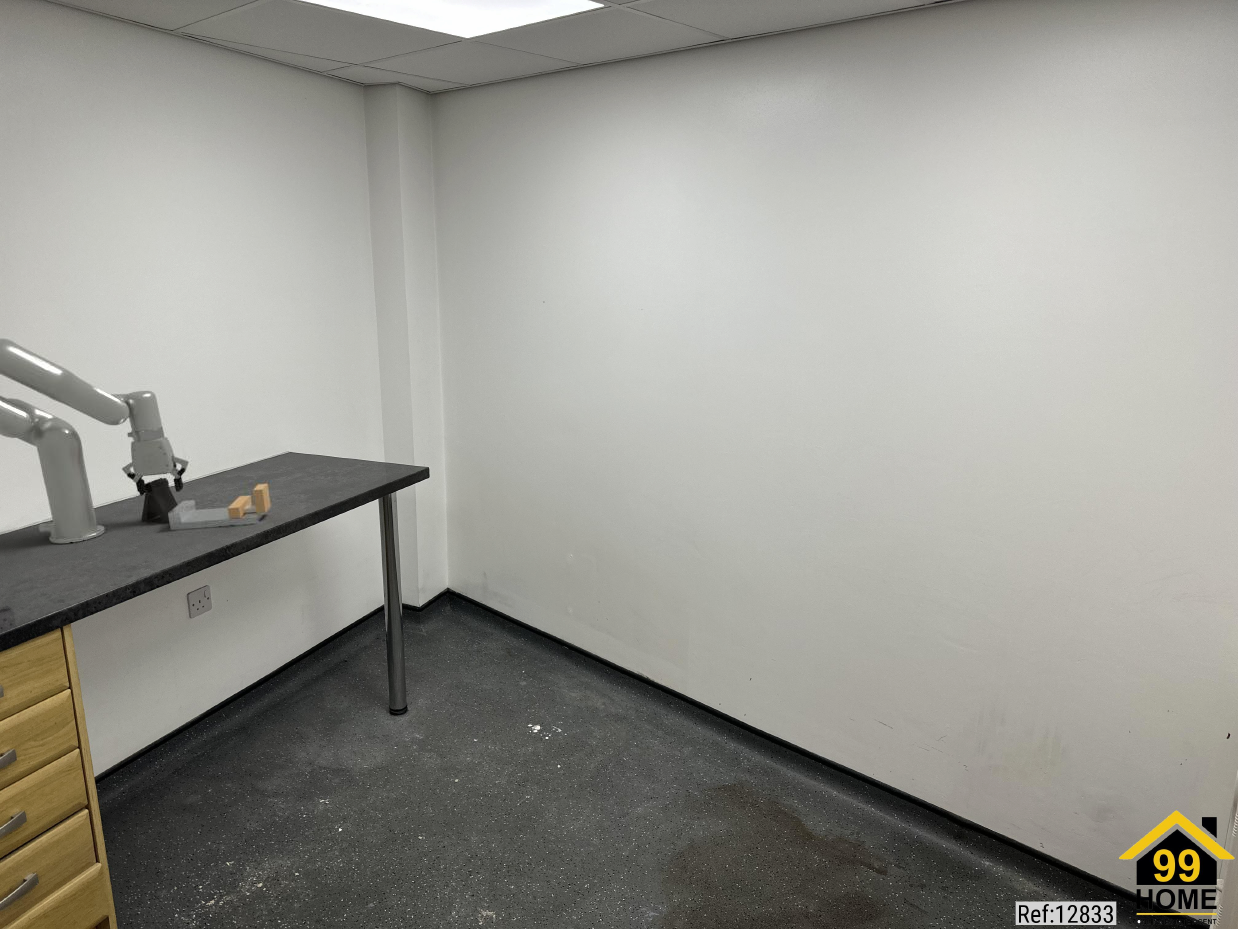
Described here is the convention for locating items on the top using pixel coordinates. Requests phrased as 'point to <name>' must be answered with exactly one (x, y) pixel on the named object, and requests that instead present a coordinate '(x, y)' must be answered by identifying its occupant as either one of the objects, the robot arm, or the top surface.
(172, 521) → the fixed jaw
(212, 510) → the grey base plate
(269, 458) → the top surface
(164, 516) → the black triangular frame
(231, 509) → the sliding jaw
